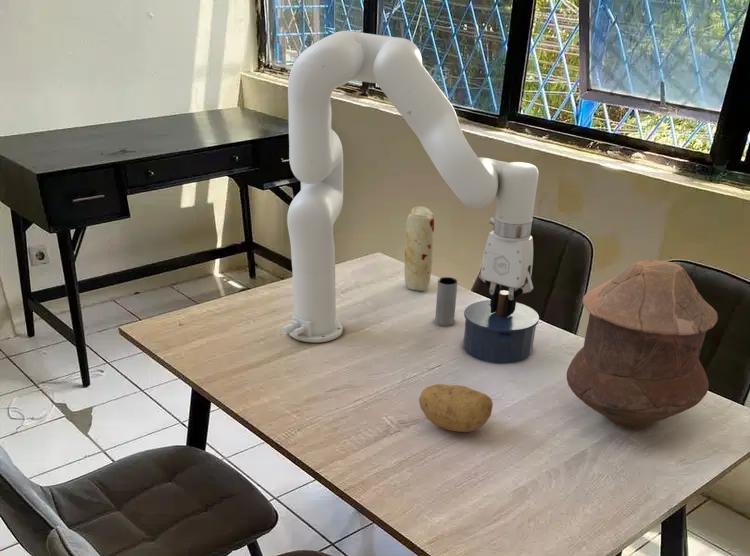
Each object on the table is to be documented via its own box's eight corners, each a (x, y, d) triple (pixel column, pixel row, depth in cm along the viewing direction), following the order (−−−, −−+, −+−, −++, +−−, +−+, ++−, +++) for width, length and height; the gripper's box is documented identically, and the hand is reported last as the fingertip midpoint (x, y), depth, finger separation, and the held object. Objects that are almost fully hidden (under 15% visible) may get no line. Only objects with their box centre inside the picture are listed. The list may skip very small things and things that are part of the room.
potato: (428, 407, 153) (430, 370, 148) (496, 423, 148) (501, 386, 143) (409, 430, 146) (411, 392, 141) (479, 448, 141) (484, 410, 136)
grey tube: (456, 320, 186) (459, 278, 180) (451, 327, 183) (454, 285, 177) (437, 317, 188) (440, 275, 181) (432, 324, 184) (435, 282, 178)
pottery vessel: (628, 467, 137) (670, 306, 119) (532, 404, 154) (556, 256, 136) (723, 428, 148) (774, 276, 130) (623, 374, 166) (657, 233, 148)
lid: (532, 305, 177) (536, 279, 173) (543, 336, 164) (548, 308, 160) (461, 303, 177) (463, 277, 173) (466, 334, 164) (469, 306, 160)
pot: (524, 329, 183) (528, 299, 178) (537, 370, 166) (543, 338, 162) (460, 328, 183) (463, 297, 178) (467, 368, 166) (470, 336, 162)
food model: (436, 292, 200) (442, 213, 188) (412, 295, 198) (417, 215, 186) (421, 278, 208) (425, 202, 196) (398, 281, 206) (401, 204, 194)
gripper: (469, 224, 160) (461, 308, 171) (538, 241, 152) (526, 328, 163) (488, 216, 165) (479, 298, 176) (556, 232, 157) (542, 317, 168)
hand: (501, 312), depth 169 cm, fingers closed on lid, 2 cm apart
